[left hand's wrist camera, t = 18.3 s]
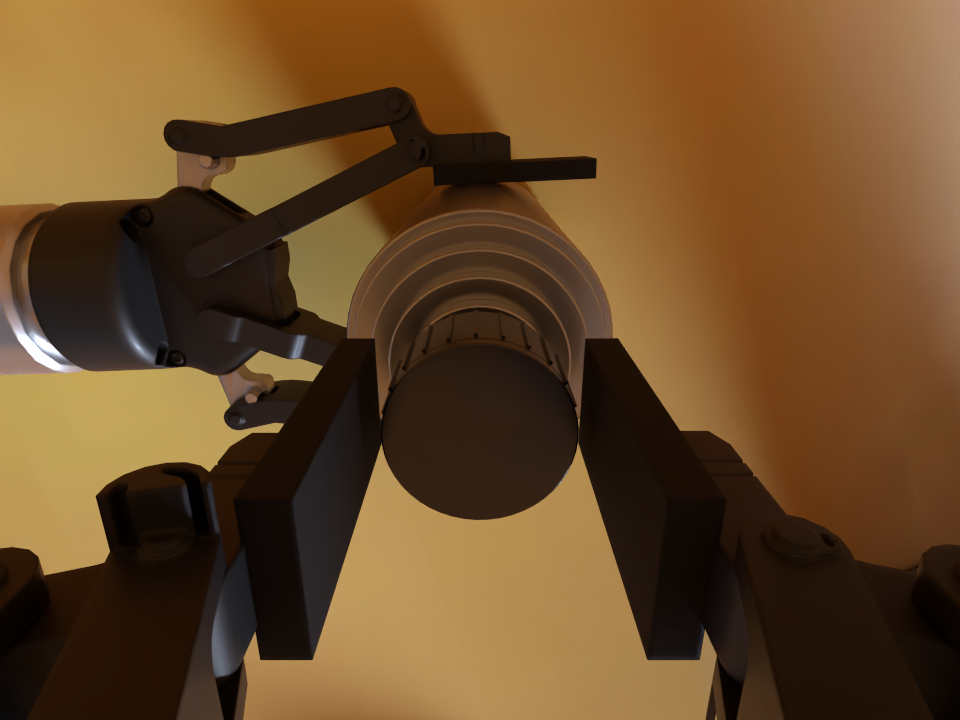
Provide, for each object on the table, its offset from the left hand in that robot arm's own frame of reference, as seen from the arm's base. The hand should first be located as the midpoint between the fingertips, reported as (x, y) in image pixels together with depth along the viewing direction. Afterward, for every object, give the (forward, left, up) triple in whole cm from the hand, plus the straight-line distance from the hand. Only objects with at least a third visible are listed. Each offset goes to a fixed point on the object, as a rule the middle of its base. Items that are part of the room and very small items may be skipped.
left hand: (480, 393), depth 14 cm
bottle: (0, 0, -20) cm, 20 cm away
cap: (0, 0, +2) cm, 2 cm away
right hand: (-5, -1, -13) cm, 14 cm away
